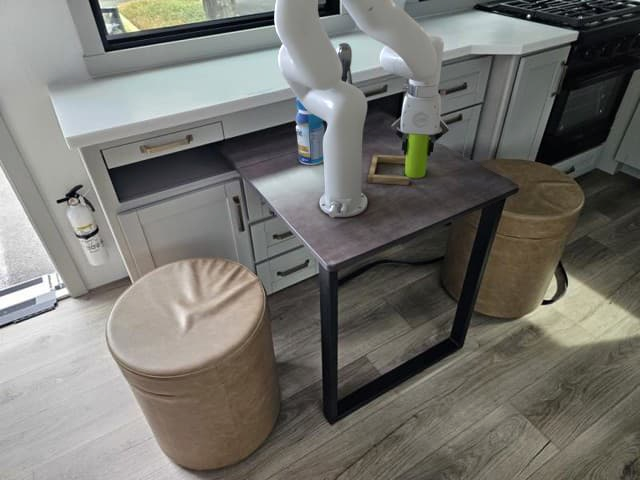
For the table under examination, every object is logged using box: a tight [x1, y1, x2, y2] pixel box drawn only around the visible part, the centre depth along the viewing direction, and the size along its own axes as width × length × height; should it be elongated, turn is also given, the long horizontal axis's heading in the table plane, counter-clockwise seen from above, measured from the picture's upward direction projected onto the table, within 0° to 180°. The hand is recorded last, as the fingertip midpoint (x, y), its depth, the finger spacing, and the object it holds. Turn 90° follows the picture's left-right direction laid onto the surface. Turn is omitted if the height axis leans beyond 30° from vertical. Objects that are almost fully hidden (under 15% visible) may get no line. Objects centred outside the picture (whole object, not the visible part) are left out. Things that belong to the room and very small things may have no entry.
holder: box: [367, 153, 410, 186], centre depth 126 cm, size 14×11×2 cm
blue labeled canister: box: [295, 97, 325, 166], centre depth 129 cm, size 8×8×20 cm
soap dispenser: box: [404, 134, 430, 179], centre depth 119 cm, size 6×7×20 cm
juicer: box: [325, 42, 354, 131], centre depth 138 cm, size 10×11×30 cm
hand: (417, 152), depth 121 cm, fingers closed on soap dispenser, 6 cm apart
